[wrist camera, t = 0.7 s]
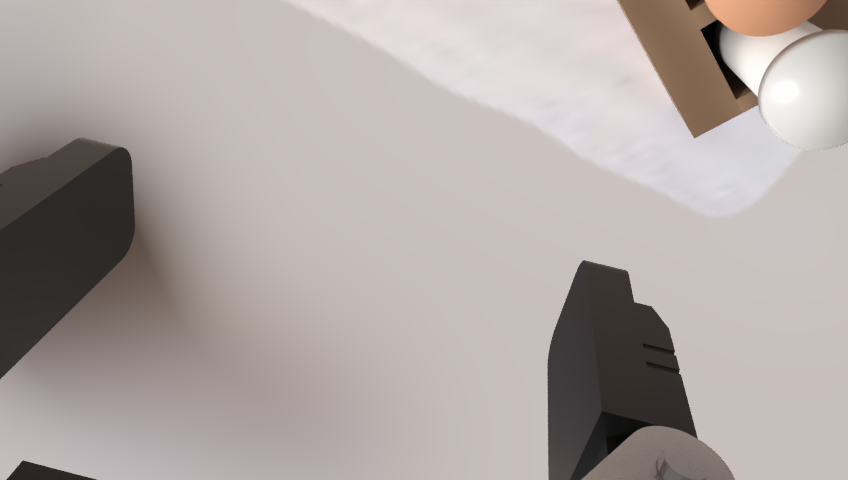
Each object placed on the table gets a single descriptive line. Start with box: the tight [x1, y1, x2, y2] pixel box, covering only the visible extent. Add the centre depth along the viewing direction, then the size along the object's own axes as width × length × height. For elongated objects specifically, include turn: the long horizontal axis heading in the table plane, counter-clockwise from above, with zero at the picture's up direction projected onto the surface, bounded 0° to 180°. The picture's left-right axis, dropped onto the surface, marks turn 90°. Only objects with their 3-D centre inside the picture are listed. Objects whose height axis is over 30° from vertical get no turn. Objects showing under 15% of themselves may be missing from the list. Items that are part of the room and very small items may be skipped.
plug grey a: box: [714, 21, 848, 150], centre depth 25 cm, size 4×4×9 cm
